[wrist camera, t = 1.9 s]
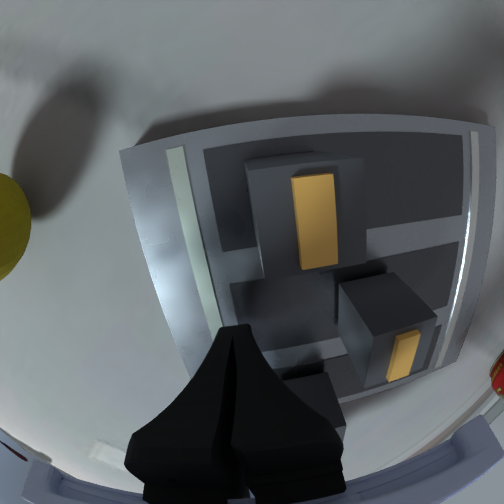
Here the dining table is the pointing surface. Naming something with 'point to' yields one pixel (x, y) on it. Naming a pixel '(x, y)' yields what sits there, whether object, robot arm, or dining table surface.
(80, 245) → the dining table surface
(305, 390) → the block
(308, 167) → the breaker
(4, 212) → the lemon
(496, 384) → the soda can
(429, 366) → the panel
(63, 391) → the dining table surface
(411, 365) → the breaker
